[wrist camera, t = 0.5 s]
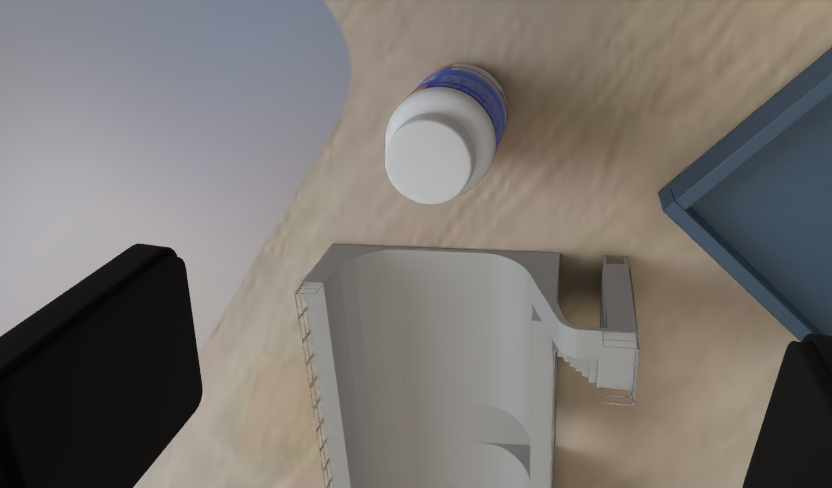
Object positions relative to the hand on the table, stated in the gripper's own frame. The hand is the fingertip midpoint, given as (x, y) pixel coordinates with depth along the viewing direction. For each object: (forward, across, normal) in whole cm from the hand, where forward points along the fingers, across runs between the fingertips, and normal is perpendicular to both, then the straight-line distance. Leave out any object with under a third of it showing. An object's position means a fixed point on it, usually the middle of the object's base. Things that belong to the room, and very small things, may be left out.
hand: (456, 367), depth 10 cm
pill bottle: (+29, +4, +3) cm, 29 cm away
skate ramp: (+29, +2, +24) cm, 38 cm away
